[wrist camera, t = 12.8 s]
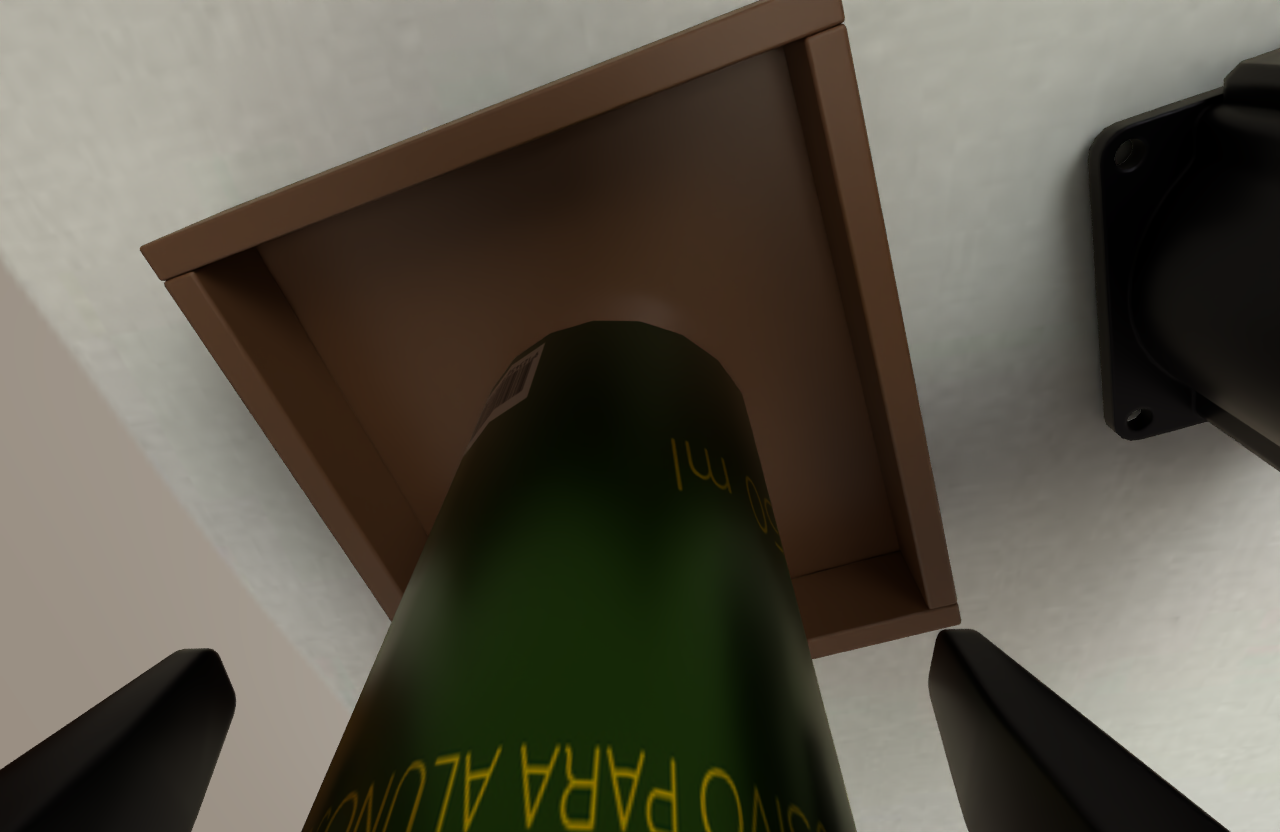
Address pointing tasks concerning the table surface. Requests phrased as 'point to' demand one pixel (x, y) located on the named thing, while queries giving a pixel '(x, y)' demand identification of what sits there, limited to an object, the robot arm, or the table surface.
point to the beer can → (596, 620)
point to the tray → (599, 300)
